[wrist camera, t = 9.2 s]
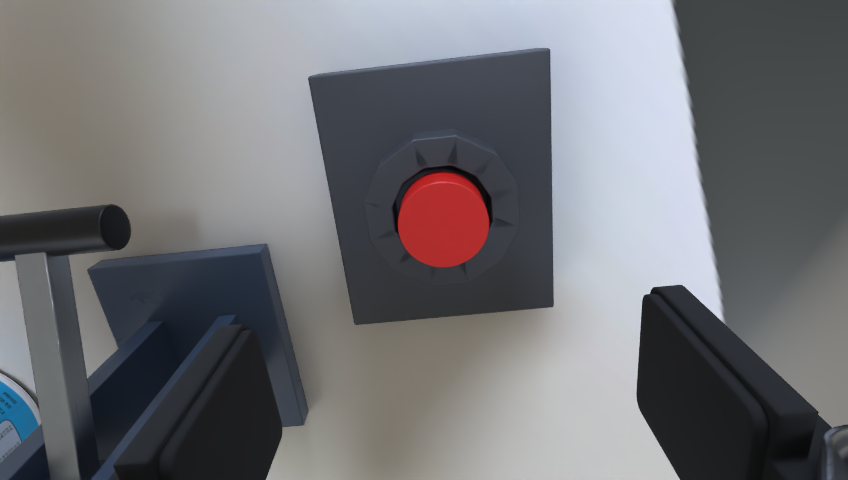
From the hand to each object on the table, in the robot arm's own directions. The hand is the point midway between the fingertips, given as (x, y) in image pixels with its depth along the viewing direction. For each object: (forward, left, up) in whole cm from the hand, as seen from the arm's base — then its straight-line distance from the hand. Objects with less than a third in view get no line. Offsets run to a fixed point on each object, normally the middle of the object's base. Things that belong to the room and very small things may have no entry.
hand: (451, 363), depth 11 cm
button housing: (0, 0, -14) cm, 14 cm away
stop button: (0, 0, -11) cm, 11 cm away
